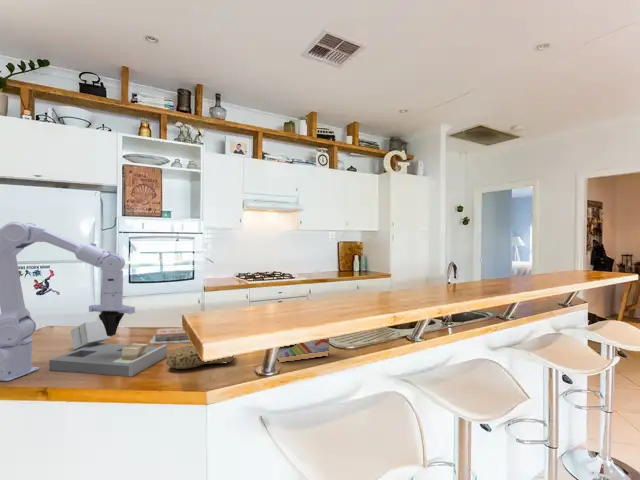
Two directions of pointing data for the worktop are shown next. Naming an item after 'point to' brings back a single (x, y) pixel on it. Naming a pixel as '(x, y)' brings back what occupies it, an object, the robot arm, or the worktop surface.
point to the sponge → (189, 358)
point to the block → (134, 351)
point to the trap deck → (106, 360)
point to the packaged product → (169, 336)
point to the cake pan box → (304, 348)
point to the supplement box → (88, 334)
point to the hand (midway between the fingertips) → (111, 335)
